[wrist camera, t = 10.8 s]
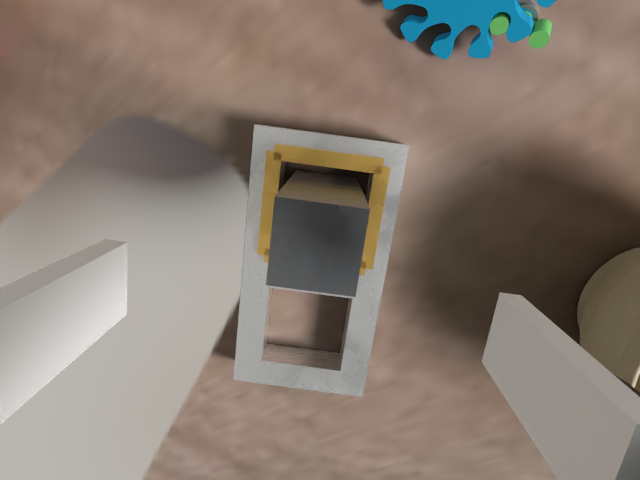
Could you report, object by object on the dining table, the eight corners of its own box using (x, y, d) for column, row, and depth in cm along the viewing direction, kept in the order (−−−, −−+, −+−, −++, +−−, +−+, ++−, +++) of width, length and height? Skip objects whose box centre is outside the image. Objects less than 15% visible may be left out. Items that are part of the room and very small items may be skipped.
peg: (348, 236, 30) (355, 297, 20) (289, 228, 30) (265, 285, 20) (357, 178, 29) (370, 209, 19) (296, 170, 29) (274, 196, 19)
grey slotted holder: (360, 377, 34) (362, 400, 31) (240, 361, 34) (232, 383, 31) (402, 143, 28) (410, 145, 26) (260, 124, 28) (252, 124, 25)
